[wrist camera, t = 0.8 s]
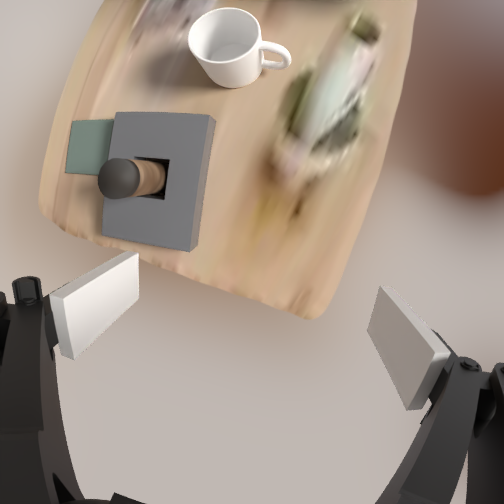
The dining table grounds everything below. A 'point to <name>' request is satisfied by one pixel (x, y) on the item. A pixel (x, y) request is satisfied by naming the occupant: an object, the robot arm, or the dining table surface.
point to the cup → (232, 47)
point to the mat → (89, 146)
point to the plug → (132, 178)
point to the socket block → (178, 181)
